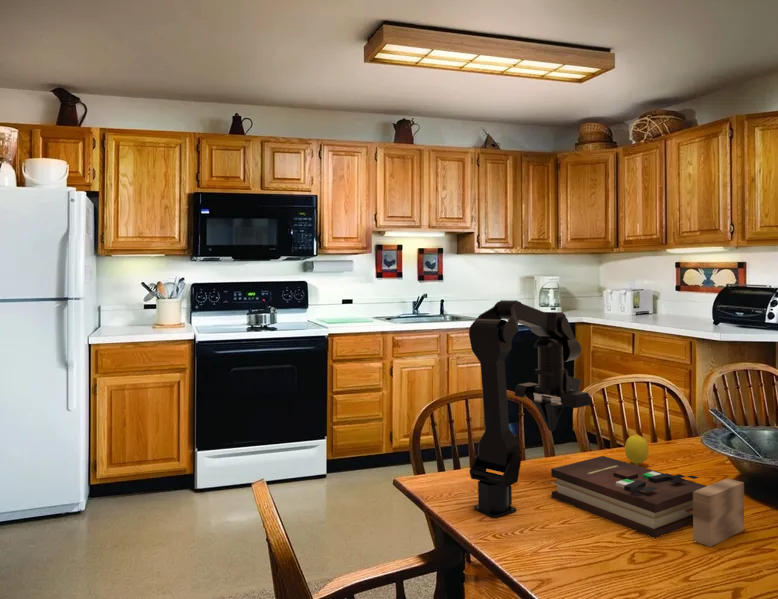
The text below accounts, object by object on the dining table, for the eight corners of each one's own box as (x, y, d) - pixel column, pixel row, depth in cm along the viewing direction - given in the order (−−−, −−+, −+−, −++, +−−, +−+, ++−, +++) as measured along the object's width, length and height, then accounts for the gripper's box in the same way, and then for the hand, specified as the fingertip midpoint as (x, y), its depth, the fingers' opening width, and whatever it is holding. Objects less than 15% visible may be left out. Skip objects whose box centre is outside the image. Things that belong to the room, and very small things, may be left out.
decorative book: (598, 449, 143) (724, 484, 118) (598, 480, 143) (724, 522, 118) (539, 463, 133) (662, 505, 108) (539, 497, 133) (663, 547, 108)
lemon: (650, 464, 154) (650, 432, 153) (646, 470, 149) (646, 438, 149) (627, 461, 156) (627, 430, 156) (623, 466, 152) (622, 435, 152)
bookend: (709, 547, 106) (709, 496, 106) (693, 541, 109) (692, 491, 109) (744, 530, 113) (743, 482, 113) (727, 524, 116) (727, 478, 115)
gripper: (606, 365, 139) (607, 433, 140) (544, 358, 155) (545, 418, 155) (574, 371, 133) (575, 441, 134) (512, 362, 149) (513, 425, 149)
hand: (551, 430), depth 143 cm, fingers closed
